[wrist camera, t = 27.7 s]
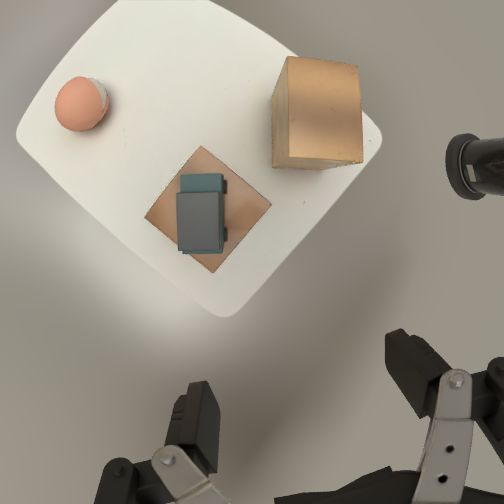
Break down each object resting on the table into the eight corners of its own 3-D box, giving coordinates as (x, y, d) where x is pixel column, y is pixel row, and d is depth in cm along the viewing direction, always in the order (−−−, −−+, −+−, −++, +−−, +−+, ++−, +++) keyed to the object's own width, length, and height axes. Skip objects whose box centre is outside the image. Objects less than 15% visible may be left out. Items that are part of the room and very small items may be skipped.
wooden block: (271, 96, 34) (286, 55, 21) (322, 100, 34) (357, 65, 21) (271, 167, 36) (288, 157, 23) (323, 169, 36) (363, 162, 24)
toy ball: (127, 96, 33) (104, 79, 25) (98, 143, 34) (70, 136, 26) (91, 79, 31) (65, 62, 24) (64, 123, 33) (35, 114, 25)
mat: (201, 146, 35) (200, 145, 34) (271, 204, 37) (271, 204, 36) (145, 216, 37) (144, 217, 36) (213, 272, 39) (212, 273, 38)
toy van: (227, 244, 37) (224, 259, 30) (186, 245, 37) (173, 260, 29) (226, 175, 35) (223, 171, 28) (185, 176, 35) (170, 173, 27)
